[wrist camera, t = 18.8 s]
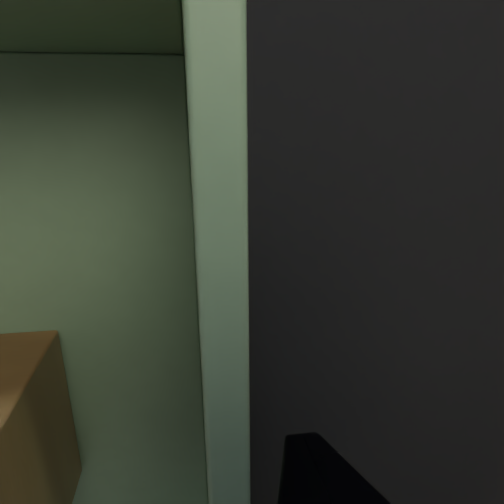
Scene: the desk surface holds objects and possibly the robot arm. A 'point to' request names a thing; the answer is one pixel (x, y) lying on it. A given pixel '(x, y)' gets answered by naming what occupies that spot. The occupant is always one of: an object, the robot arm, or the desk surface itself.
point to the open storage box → (133, 234)
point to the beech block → (36, 422)
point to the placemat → (378, 241)
